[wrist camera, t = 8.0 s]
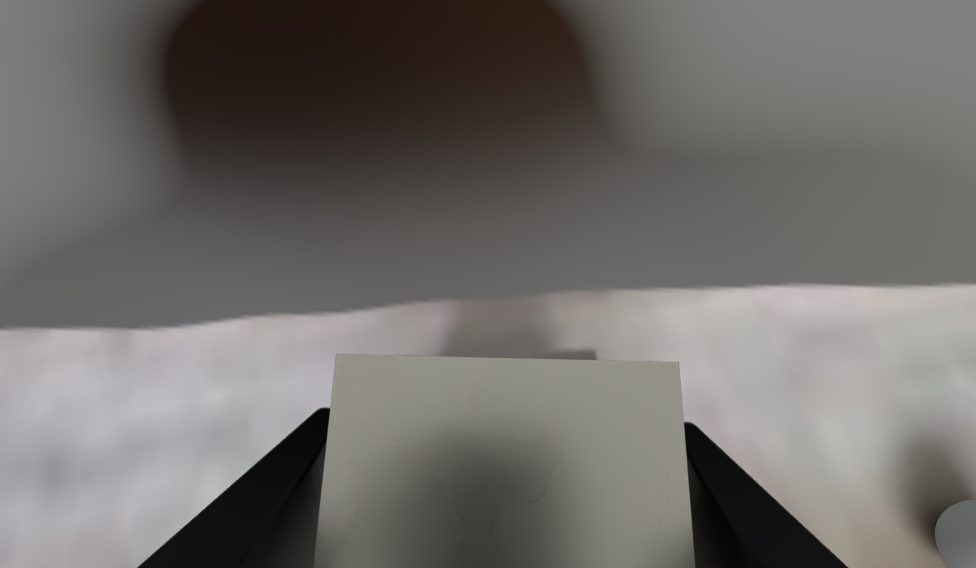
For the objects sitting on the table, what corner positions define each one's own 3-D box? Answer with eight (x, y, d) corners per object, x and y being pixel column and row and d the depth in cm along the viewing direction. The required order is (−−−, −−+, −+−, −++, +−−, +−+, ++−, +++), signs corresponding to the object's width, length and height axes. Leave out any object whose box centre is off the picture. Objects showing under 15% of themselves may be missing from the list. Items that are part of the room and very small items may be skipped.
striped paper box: (571, 536, 15) (717, 798, 5) (420, 531, 15) (286, 780, 5) (568, 381, 16) (682, 358, 6) (429, 377, 16) (333, 349, 7)
